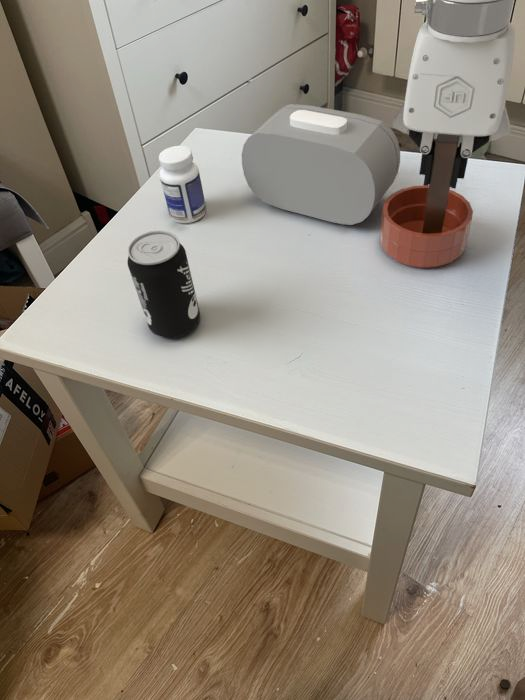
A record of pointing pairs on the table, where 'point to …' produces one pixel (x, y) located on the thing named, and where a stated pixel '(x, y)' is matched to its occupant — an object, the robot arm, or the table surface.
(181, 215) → the pill bottle
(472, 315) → the table surface
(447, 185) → the stick
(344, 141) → the alarm clock
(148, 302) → the beverage can
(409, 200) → the bowl
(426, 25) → the robot arm
